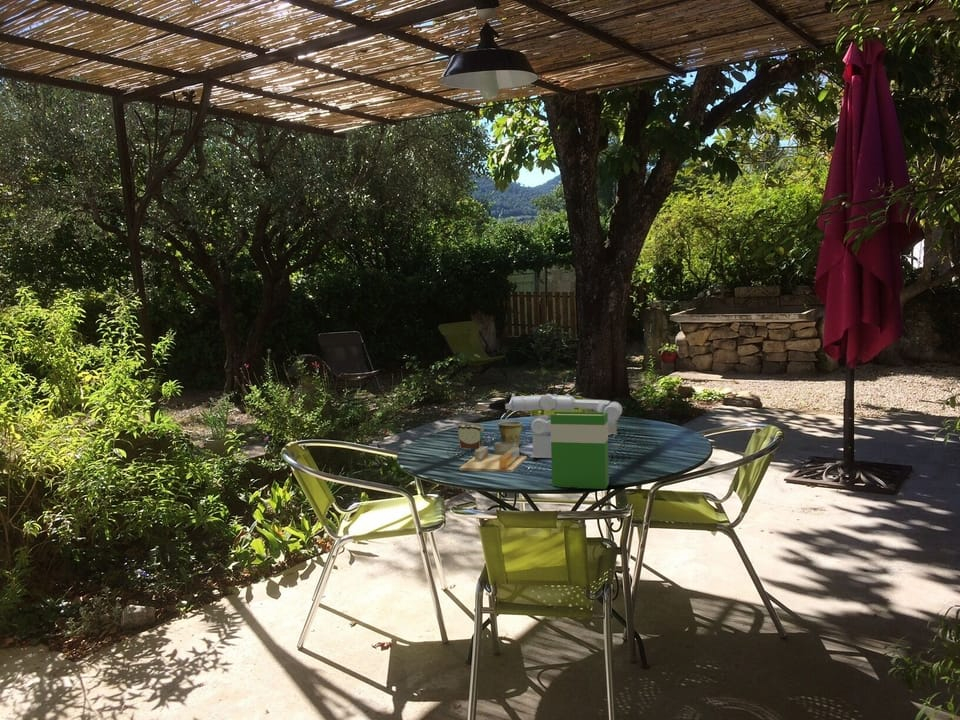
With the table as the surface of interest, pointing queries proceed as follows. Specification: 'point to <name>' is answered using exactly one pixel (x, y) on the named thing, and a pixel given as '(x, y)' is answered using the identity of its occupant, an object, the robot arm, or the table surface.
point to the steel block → (503, 447)
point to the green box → (580, 449)
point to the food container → (470, 435)
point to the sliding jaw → (509, 457)
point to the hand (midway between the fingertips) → (492, 404)
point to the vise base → (489, 462)
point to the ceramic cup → (510, 431)
